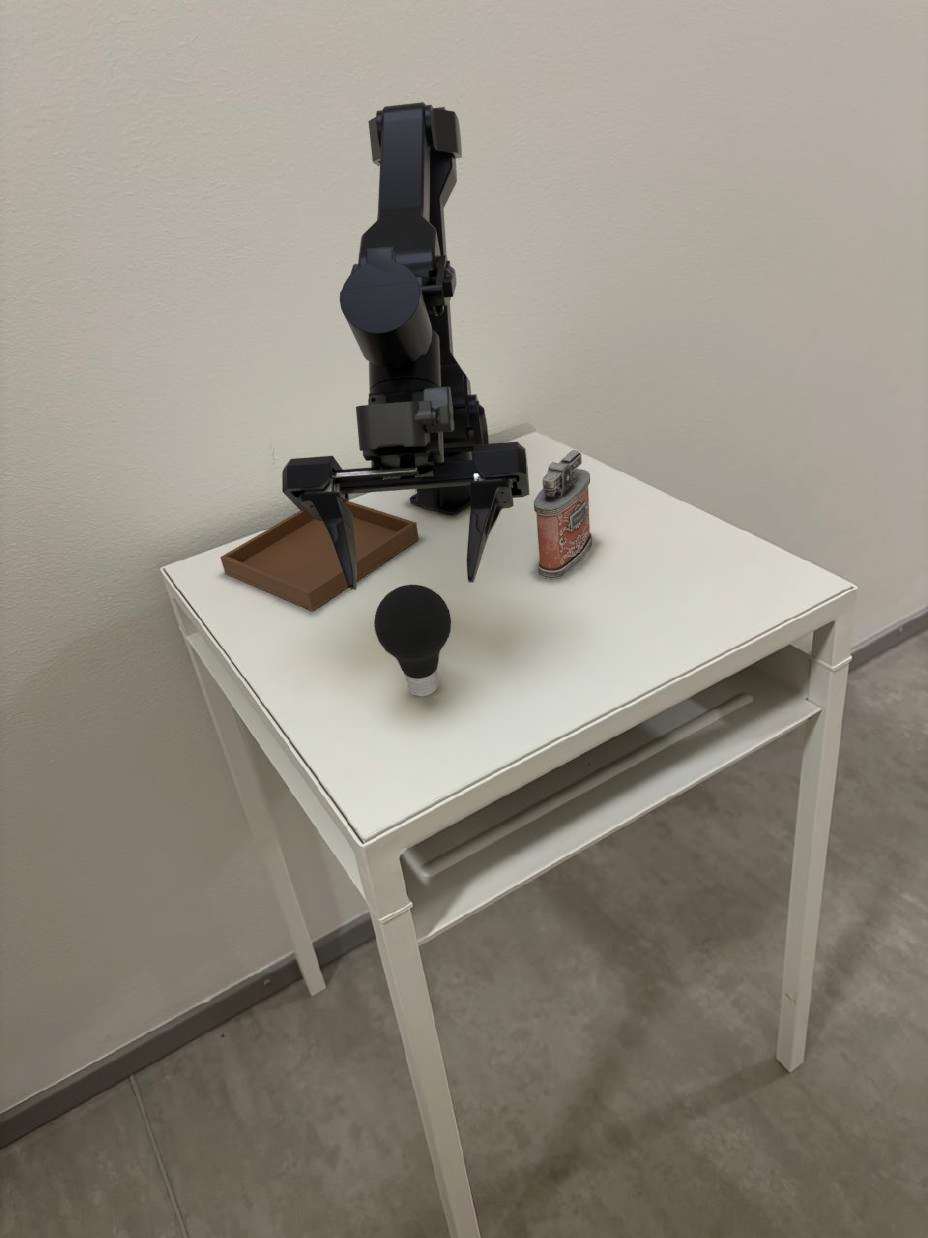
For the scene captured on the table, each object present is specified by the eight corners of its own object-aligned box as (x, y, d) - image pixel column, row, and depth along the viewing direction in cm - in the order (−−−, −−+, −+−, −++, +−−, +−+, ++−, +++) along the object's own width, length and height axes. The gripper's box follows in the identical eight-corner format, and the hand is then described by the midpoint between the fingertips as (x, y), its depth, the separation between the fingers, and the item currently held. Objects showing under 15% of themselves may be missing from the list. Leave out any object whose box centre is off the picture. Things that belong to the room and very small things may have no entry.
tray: (331, 510, 104) (328, 494, 103) (419, 539, 97) (416, 522, 96) (225, 573, 95) (220, 557, 94) (312, 611, 88) (308, 593, 87)
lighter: (562, 582, 88) (557, 485, 82) (530, 574, 89) (523, 479, 84) (599, 540, 93) (597, 447, 87) (568, 534, 95) (564, 441, 89)
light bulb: (374, 708, 75) (353, 604, 70) (411, 665, 80) (394, 564, 74) (438, 725, 73) (422, 619, 67) (473, 681, 77) (460, 577, 71)
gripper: (259, 358, 68) (259, 568, 66) (517, 336, 67) (528, 551, 64) (301, 417, 79) (303, 600, 77) (524, 399, 78) (534, 586, 75)
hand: (411, 585), depth 73 cm, fingers open, 9 cm apart
